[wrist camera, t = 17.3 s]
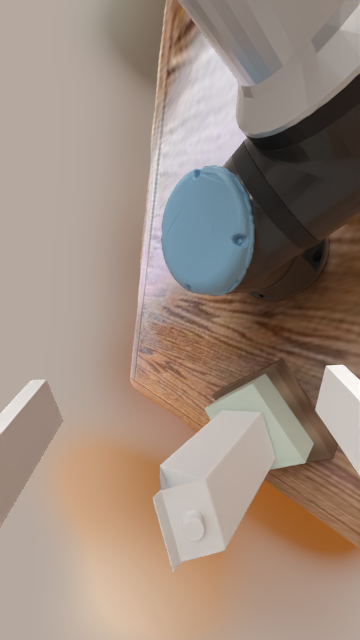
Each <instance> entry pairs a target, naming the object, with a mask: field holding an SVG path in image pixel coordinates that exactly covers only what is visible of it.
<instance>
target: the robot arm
mask: <svg viewBox="0 0 360 640" xmlns="http://www.w3.org/2000/svg"><path fill="white" fill-rule="evenodd" d="M178 2H179V3H180V4H181V6H182V7H183V8H184V10H185V11H186V12H187V14H188V15H189V16H190V18H191V19H192V20H193V22H194V23H195V24H196V26H197V27H198V28H199V30H200V31H201V32H202V34H203V35H204V36H205V38H206V39H207V40H208V42H209V43H210V44H211V46H212V47H213V48H214V50H215V51H216V52H217V54H218V55H219V56H220V58H221V59H222V60H223V62H224V63H225V64H226V66H227V67H228V68H229V70H230V71H231V72H232V74H233V75H234V76H235V78H236V79H237V81H238V95H237V105H236V119H237V123H238V126H239V128H240V129H241V131H242V132H243V133H244V134H245V135H246V136H247V138H246V139H245V140H244V141H243V143H242V144H241V145H240V146H239V148H238V149H237V150H236V151H235V153H234V154H233V155H232V156H231V157H230V158H229V160H228V161H227V162H226V163H225V165H224V166H223V167H221V166H220V167H219V166H205V167H203V168H202V169H194V170H193V171H191V172H189V173H188V174H186V175H185V176H184V177H183V178H182V179H181V180H180V181H179V182H178V184H177V185H176V186H175V188H174V190H173V191H172V193H171V195H170V197H169V199H168V202H167V204H166V207H165V211H164V215H163V220H162V239H161V241H162V250H163V255H164V259H165V262H166V264H167V267H168V269H169V271H170V273H171V274H172V276H173V277H174V279H175V280H176V281H177V282H178V283H179V284H180V285H181V286H182V287H184V288H185V289H187V290H188V291H191V292H193V293H197V294H203V295H210V296H220V295H224V294H230V293H239V292H248V293H249V294H251V295H253V296H255V297H258V298H262V299H268V300H276V299H283V298H287V297H291V296H294V295H296V294H298V293H300V292H302V291H303V290H305V289H306V288H308V287H309V286H310V285H311V284H312V283H313V282H314V281H315V280H316V279H317V278H318V276H319V275H320V274H321V272H322V270H323V268H324V266H325V264H326V261H327V258H328V254H329V237H328V235H330V234H331V233H333V232H334V231H336V230H337V229H339V228H340V227H342V226H344V225H345V224H347V223H348V222H350V221H351V220H353V219H354V218H356V217H357V216H359V215H360V0H178ZM315 411H316V412H317V414H318V415H319V417H320V418H321V420H322V421H323V423H324V424H325V426H326V427H327V428H328V430H329V431H330V433H331V434H332V436H333V437H334V439H335V440H336V442H337V443H338V445H339V446H340V448H341V449H342V451H343V452H344V453H345V455H346V456H347V458H348V459H349V461H350V462H351V464H352V465H353V467H354V468H355V470H356V471H357V473H358V474H359V476H360V380H359V379H358V378H357V377H356V376H355V375H354V374H353V373H352V372H350V371H349V370H348V369H347V368H346V367H345V366H344V365H328V366H326V368H325V372H324V376H323V380H322V384H321V388H320V392H319V396H318V400H317V404H316V408H315ZM62 422H63V419H62V417H61V414H60V412H59V409H58V407H57V404H56V402H55V399H54V397H53V395H52V392H51V390H50V387H49V385H48V382H47V380H31V381H30V382H29V383H28V384H27V385H26V386H25V387H24V388H23V389H22V391H21V392H20V393H19V394H18V395H17V396H16V397H15V398H14V399H13V400H12V401H11V402H10V403H9V405H8V406H7V407H6V408H5V409H4V410H3V411H2V412H1V413H0V527H1V525H2V524H3V522H4V520H5V518H6V517H7V515H8V513H9V512H10V510H11V508H12V507H13V505H14V503H15V502H16V500H17V498H18V496H19V495H20V493H21V491H22V490H23V488H24V486H25V484H26V483H27V481H28V479H29V477H30V476H31V474H32V473H33V471H34V469H35V468H36V466H37V464H38V462H39V461H40V459H41V457H42V456H43V454H44V452H45V450H46V448H47V447H48V445H49V444H50V442H51V440H52V439H53V437H54V435H55V434H56V432H57V430H58V428H59V427H60V425H61V423H62Z"/></svg>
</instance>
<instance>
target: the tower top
mask: <svg viewBox="0 0 360 640" xmlns="http://www.w3.org/2000/svg"><path fill="white" fill-rule="evenodd" d="M222 410H229V411H254V412H262V414H263V417H264V420H265V423H266V427H267V430H268V433H269V436H270V440H271V443H272V446H273V450H274V453H275V457H276V459H275V461H274V462H273V464H272V466H271V468H270V470H272V469H277V468H282V467H288V466H293V465H298V464H303V463H305V462H306V460H307V458H308V456H309V453H310V451H311V449H312V447H313V444H314V443H313V441H312V440H311V438H310V437H309V436H308V434H307V433H306V431H305V430H304V428H303V427H302V425H301V424H300V422H299V421H298V420H297V418H296V417H295V415H294V414H293V412H292V411H291V409H290V408H289V407H288V405H287V404H286V402H285V401H284V399H283V398H282V396H281V395H280V393H279V392H278V391H277V389H276V388H275V386H274V385H273V383H272V382H271V380H270V379H269V378H268V376H267V375H266V373H265V374H264V375H262V376H260V377H258V378H256V379H254V380H252V381H250V382H249V383H247V384H245V385H243V386H241V387H239V388H237V389H235V390H234V391H232V392H230V393H228V394H226V395H224V396H222V397H220V398H219V399H217V400H216V401H215V402H213V403H212V404H210V405H209V406H207V407H206V408H205V411H206V413H207V415H208V416H209V418H210V420H212V419H213V418H214V417H215V416H217V415H218V414H219V413H220V412H221V411H222Z"/></svg>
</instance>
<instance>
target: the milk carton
mask: <svg viewBox="0 0 360 640" xmlns="http://www.w3.org/2000/svg"><path fill="white" fill-rule="evenodd" d="M275 459H276V457H275V453H274V450H273V446H272V443H271V440H270V436H269V433H268V430H267V427H266V423H265V420H264V417H263V414H262V412H254V411H229V410H222V411H221V412H220V413H219V414H218V415H217V416H215V417H214V418H213V419H212V420H211V421H210V422H209V423H207V424H206V425H205V426H204V427H203V428H202V429H201V430H199V431H198V432H197V433H196V434H195V435H194V436H193V437H192V438H190V439H189V440H188V441H187V442H186V443H185V444H184V445H182V446H181V447H180V448H179V449H178V450H177V451H176V452H174V453H173V454H172V455H171V456H170V457H169V458H168V459H166V461H164V462H163V463H162V464H161V465H160V491H159V492H158V493H157V494H156V495H155V496H154V497H153V502H154V506H155V509H156V513H157V517H158V520H159V524H160V527H161V531H162V535H163V539H164V542H165V546H166V550H167V553H168V557H169V561H170V564H171V568H172V571H173V572H174V571H175V570H176V569H177V567H178V566H179V564H180V563H181V562H183V561H187V560H191V559H195V558H198V557H202V556H206V555H210V554H214V553H218V552H221V551H224V550H225V549H226V547H227V545H228V543H229V542H230V540H231V538H232V536H233V535H234V532H235V531H236V529H237V527H238V526H239V524H240V522H241V520H242V518H243V516H244V515H245V513H246V511H247V509H248V507H249V506H250V503H251V502H252V500H253V498H254V497H255V495H256V493H257V491H258V489H259V488H260V486H261V484H262V482H263V480H264V479H265V477H266V475H267V473H268V471H269V470H270V468H271V466H272V464H273V462H274V461H275Z"/></svg>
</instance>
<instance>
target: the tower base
mask: <svg viewBox="0 0 360 640" xmlns="http://www.w3.org/2000/svg"><path fill="white" fill-rule="evenodd" d="M265 373H266V375H267V376H268V378H269V379H270V380H271V382H272V383H273V385H274V386H275V388H276V389H277V391H278V392H279V393H280V395H281V396H282V398H283V399H284V401H285V402H286V404H287V405H288V407H289V408H290V409H291V411H292V412H293V414H294V415H295V417H296V418H297V420H298V421H299V422H300V424H301V425H302V427H303V428H304V430H305V431H306V433H307V434H308V436H309V437H310V438H311V440H312V441H313V443H314V444H313V447H312V449H311V451H310V453H309V456H308V458H307V460H306V462H311V461H319V460H326V459H333V458H334V455H335V452H336V449H337V445H338V443H337V442H336V440H335V439H334V437H333V436H332V434H331V433H330V431H329V430H328V428H327V427H326V426H325V424H324V423H323V421H322V420H321V418H320V417H319V415H318V414H317V412H316V411H315V407H314V405H313V404H312V402H311V401H310V399H309V398H308V396H307V395H306V393H305V392H304V390H303V389H302V387H301V386H300V384H299V383H298V381H297V380H296V378H295V377H294V375H293V374H292V372H291V371H290V369H289V368H288V366H287V365H286V363H285V362H284V360H283V359H281V360H279V361H277V362H275V363H273V364H271V365H269V366H266V367H264V368H262V369H260V370H258V371H256V372H254V373H252V374H250V375H248V376H246V377H244V378H242V379H240V380H238V381H235V382H233V383H231V384H229V385H227V386H225V387H223V388H222V389H220V390H219V391H217V392H216V393H214V394H213V396H214V398H215V400H217V399H219V398H220V397H222V396H224V395H226V394H228V393H230V392H232V391H234V390H235V389H237V388H239V387H241V386H243V385H245V384H247V383H249V382H250V381H252V380H254V379H256V378H258V377H260V376H262V375H264V374H265Z"/></svg>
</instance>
